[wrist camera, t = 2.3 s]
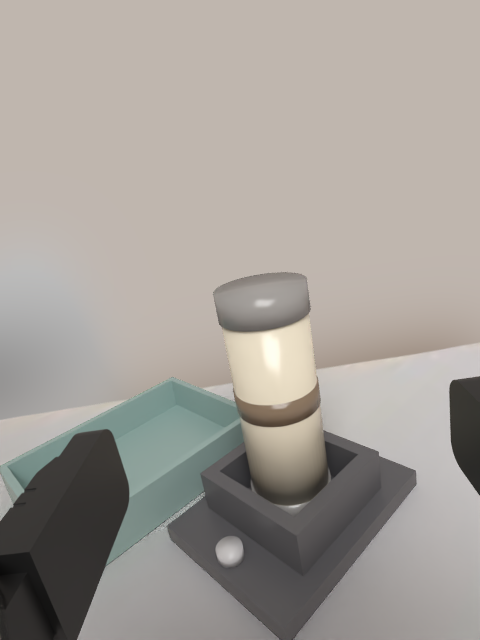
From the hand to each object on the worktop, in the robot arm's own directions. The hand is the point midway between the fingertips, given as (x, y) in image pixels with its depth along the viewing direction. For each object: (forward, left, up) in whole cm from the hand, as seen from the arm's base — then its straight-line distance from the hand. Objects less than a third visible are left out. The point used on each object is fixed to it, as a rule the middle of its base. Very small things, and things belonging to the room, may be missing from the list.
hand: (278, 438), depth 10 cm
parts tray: (+4, +20, -13) cm, 24 cm away
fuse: (+8, +8, -12) cm, 17 cm away
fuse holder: (+8, +8, -13) cm, 17 cm away
